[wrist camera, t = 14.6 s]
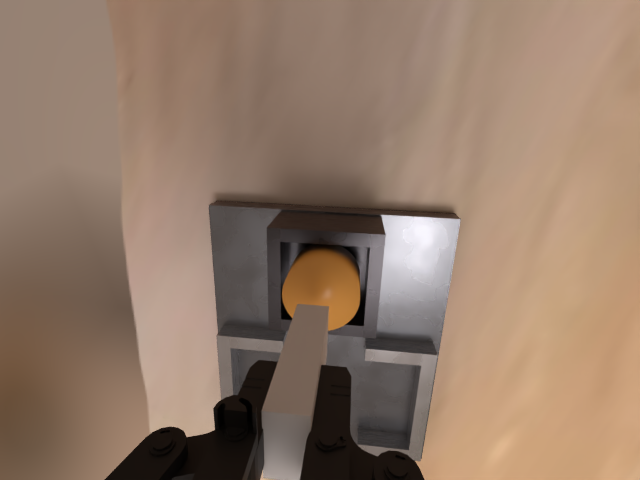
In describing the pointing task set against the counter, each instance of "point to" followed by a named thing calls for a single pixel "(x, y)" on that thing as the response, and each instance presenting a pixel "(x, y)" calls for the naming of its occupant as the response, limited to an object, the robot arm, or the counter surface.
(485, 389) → the counter surface
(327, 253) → the button
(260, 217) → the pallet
